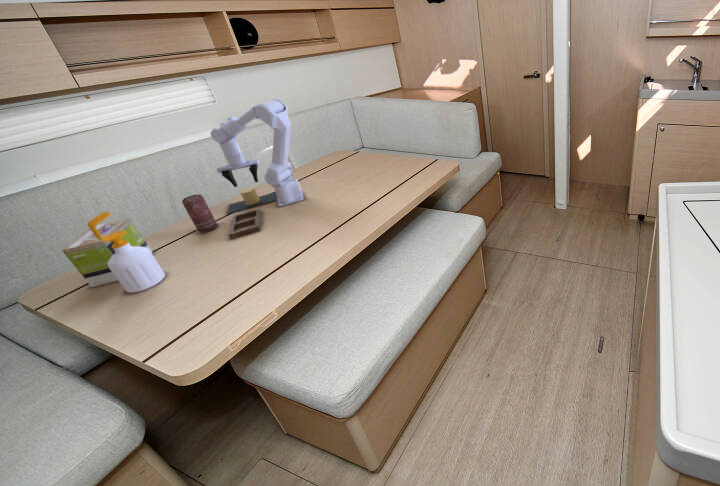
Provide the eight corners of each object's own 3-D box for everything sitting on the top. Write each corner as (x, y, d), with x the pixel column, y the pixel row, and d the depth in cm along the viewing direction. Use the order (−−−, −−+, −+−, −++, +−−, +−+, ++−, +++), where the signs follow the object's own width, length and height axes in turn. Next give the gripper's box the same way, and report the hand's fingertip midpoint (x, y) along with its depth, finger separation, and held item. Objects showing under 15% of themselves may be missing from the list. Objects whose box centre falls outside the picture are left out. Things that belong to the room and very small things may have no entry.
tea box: (118, 260, 121) (93, 224, 115) (154, 252, 124) (131, 216, 118) (89, 288, 108) (59, 249, 102) (130, 278, 111) (103, 239, 105)
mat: (276, 192, 162) (276, 192, 162) (276, 200, 155) (276, 200, 154) (229, 205, 154) (229, 204, 154) (227, 214, 147) (226, 213, 146)
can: (222, 224, 139) (206, 193, 133) (208, 233, 133) (191, 201, 127) (209, 224, 140) (192, 193, 134) (194, 233, 134) (176, 201, 128)
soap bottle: (171, 276, 110) (128, 209, 100) (134, 296, 103) (83, 226, 92) (157, 270, 114) (114, 205, 103) (120, 289, 107) (70, 220, 96)
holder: (261, 212, 146) (259, 208, 145) (259, 230, 132) (257, 226, 131) (235, 219, 142) (233, 215, 141) (230, 239, 128) (228, 234, 127)
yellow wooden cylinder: (260, 198, 158) (255, 186, 155) (259, 202, 153) (253, 190, 151) (246, 201, 155) (241, 189, 153) (245, 206, 151) (239, 194, 149)
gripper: (209, 161, 140) (224, 191, 145) (252, 153, 145) (264, 182, 151) (214, 156, 145) (228, 185, 151) (254, 148, 151) (266, 177, 157)
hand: (246, 183), depth 151 cm, fingers open, 7 cm apart
